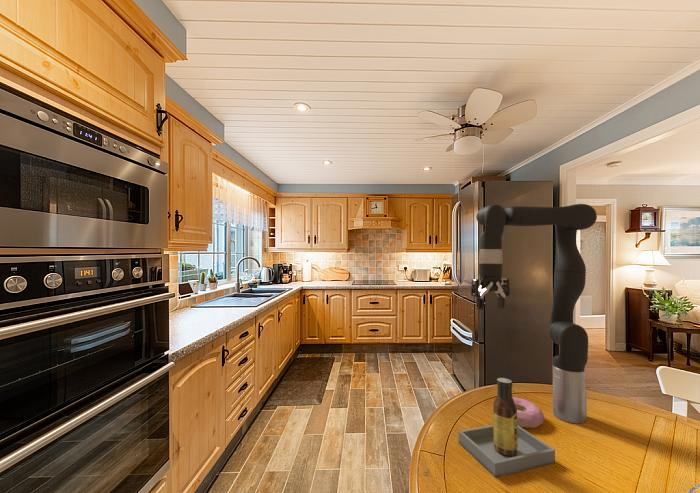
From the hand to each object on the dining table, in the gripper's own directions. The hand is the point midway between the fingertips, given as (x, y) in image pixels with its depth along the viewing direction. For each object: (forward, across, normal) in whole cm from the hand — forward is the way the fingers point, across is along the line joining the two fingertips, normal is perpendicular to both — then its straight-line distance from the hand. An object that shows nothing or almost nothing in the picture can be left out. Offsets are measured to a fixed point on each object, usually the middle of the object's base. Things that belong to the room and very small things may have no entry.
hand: (490, 308), depth 107 cm
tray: (+38, +9, +16) cm, 42 cm away
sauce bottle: (+38, +9, +16) cm, 42 cm away
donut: (+38, -10, +2) cm, 40 cm away
